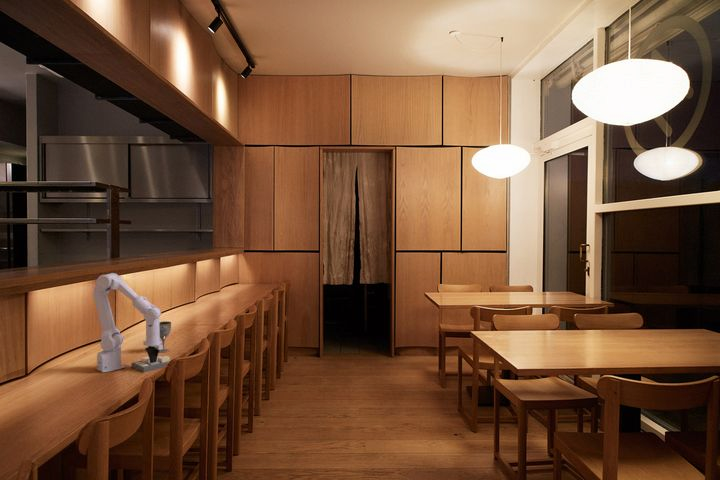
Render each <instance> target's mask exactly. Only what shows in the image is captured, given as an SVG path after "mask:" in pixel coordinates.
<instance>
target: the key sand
mask: <svg viewBox="0 0 720 480" xmlns="http://www.w3.org/2000/svg"><path fill="white" fill-rule="evenodd" d="M162 356H163V357H159V356H157V357H158V362H161V363H163V362H167V361H170V359H171V357H170V356H168V355H162Z"/></svg>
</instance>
